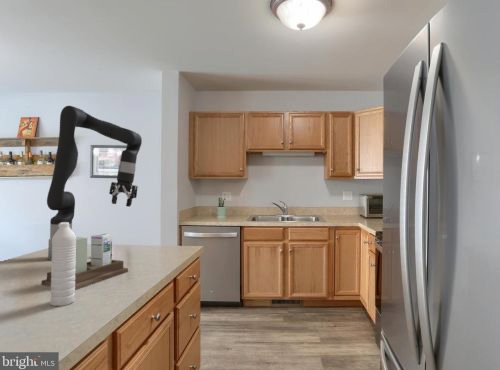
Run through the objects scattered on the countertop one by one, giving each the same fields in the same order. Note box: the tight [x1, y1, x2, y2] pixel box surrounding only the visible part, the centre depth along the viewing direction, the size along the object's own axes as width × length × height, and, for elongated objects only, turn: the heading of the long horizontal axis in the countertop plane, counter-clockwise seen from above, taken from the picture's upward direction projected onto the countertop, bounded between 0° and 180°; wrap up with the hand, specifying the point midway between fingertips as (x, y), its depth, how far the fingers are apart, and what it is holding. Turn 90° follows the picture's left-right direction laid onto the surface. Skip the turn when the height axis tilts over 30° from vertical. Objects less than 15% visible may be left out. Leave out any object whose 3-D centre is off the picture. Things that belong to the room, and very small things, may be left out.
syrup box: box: [90, 233, 113, 266], centre depth 127 cm, size 6×6×14 cm
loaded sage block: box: [75, 236, 88, 274], centre depth 115 cm, size 6×6×15 cm
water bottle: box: [49, 222, 77, 307], centre depth 94 cm, size 9×6×25 cm
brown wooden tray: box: [40, 259, 129, 291], centre depth 121 cm, size 16×26×4 cm, turn 160°
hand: (121, 205), depth 147 cm, fingers open, 8 cm apart
